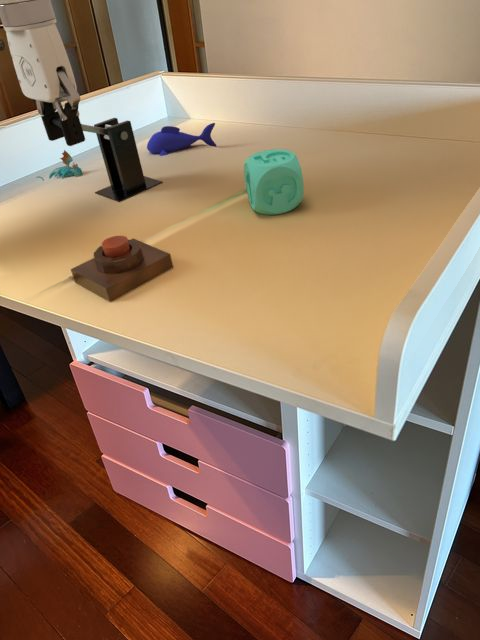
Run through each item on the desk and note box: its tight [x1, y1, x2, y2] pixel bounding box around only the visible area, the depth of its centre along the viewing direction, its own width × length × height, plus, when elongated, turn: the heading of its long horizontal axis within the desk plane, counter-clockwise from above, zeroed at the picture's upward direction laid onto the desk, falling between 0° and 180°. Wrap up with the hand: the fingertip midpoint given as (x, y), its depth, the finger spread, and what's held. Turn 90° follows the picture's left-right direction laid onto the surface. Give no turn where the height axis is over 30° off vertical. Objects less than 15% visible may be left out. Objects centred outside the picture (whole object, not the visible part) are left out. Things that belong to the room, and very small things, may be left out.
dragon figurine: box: [35, 149, 83, 182], centre depth 114 cm, size 7×7×8 cm
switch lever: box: [50, 117, 113, 140], centre depth 95 cm, size 12×5×2 cm, turn 136°
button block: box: [70, 237, 174, 303], centre depth 80 cm, size 11×9×4 cm
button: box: [101, 235, 130, 258], centre depth 78 cm, size 4×4×2 cm
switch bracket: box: [93, 117, 164, 203], centre depth 102 cm, size 10×8×13 cm
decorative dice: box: [243, 148, 305, 216], centre depth 92 cm, size 8×8×8 cm
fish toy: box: [146, 122, 217, 157], centre depth 118 cm, size 15×8×7 cm, turn 100°
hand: (66, 139), depth 93 cm, fingers closed on switch lever, 5 cm apart
